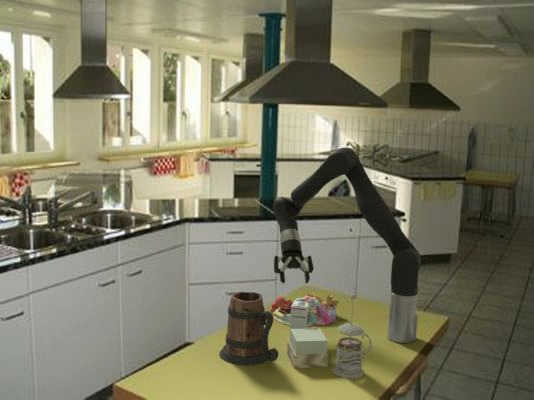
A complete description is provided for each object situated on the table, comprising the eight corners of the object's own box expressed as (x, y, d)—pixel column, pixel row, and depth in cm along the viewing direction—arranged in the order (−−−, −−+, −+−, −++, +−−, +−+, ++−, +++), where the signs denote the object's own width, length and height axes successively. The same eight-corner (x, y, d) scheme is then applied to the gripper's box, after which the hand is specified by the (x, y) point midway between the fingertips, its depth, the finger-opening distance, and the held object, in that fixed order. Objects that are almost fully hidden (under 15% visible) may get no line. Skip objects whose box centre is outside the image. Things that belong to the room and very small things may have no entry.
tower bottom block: (319, 353, 194) (319, 340, 194) (327, 368, 184) (328, 354, 183) (286, 354, 193) (287, 341, 192) (293, 369, 182) (294, 355, 181)
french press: (329, 364, 186) (334, 289, 182) (365, 364, 187) (370, 289, 183) (335, 378, 176) (340, 299, 172) (373, 378, 177) (379, 300, 173)
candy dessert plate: (297, 302, 244) (298, 281, 242) (346, 315, 230) (348, 293, 229) (262, 318, 224) (263, 295, 222) (314, 334, 210) (315, 310, 209)
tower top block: (319, 341, 193) (319, 328, 193) (326, 353, 184) (327, 340, 183) (289, 341, 192) (290, 329, 191) (295, 354, 182) (296, 341, 181)
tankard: (208, 351, 191) (210, 293, 188) (248, 339, 202) (250, 284, 199) (254, 378, 174) (256, 315, 171) (294, 363, 185) (297, 303, 182)
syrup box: (306, 347, 198) (308, 307, 195) (289, 345, 199) (290, 305, 196) (308, 341, 203) (310, 301, 201) (291, 339, 204) (293, 300, 202)
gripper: (273, 238, 213) (277, 277, 203) (311, 238, 215) (316, 277, 206) (270, 248, 219) (274, 287, 209) (307, 248, 221) (312, 287, 212)
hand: (295, 282), depth 208 cm, fingers open, 8 cm apart
